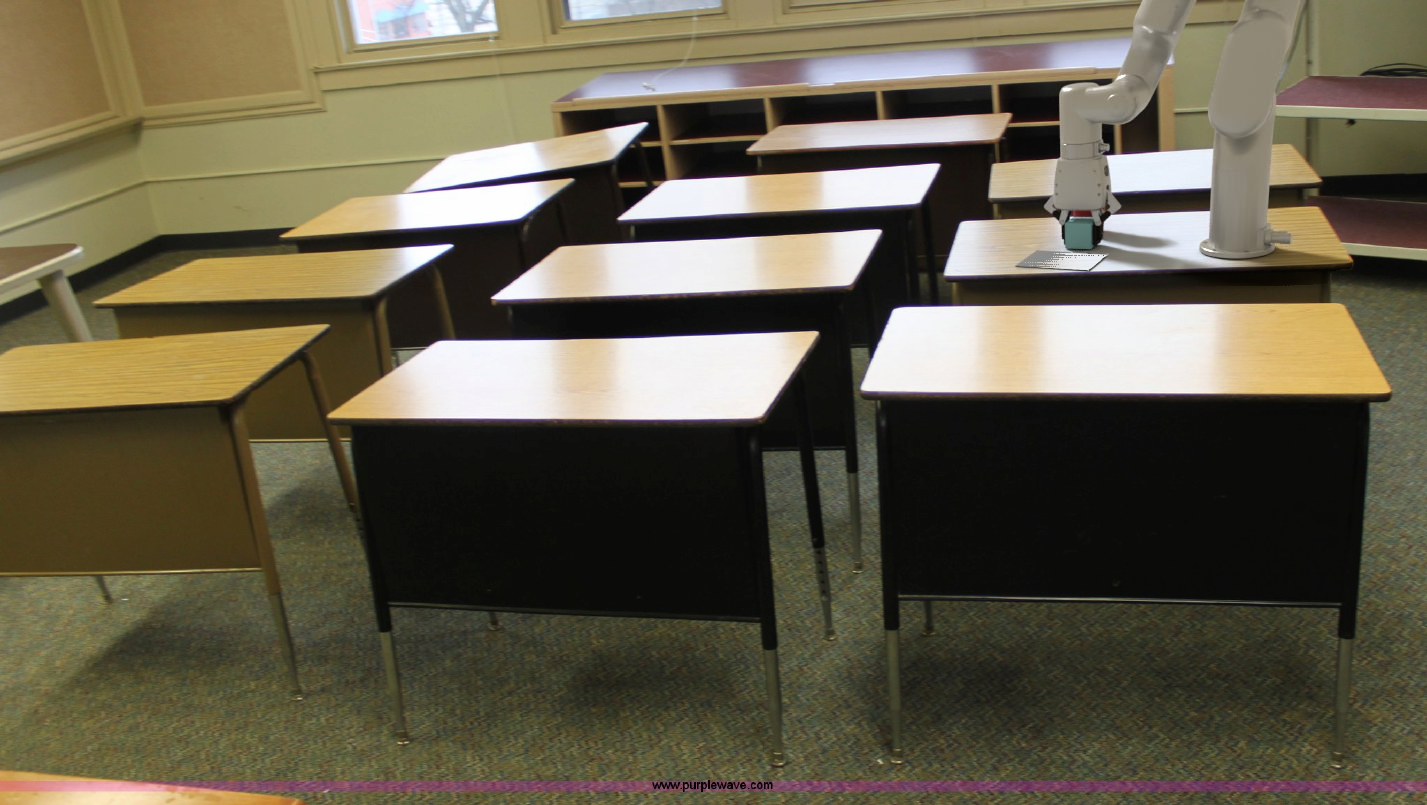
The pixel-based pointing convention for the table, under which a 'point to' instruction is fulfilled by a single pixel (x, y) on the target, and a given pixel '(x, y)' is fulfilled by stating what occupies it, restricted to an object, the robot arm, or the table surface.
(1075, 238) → the teal block
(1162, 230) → the table surface
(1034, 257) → the slate mat
